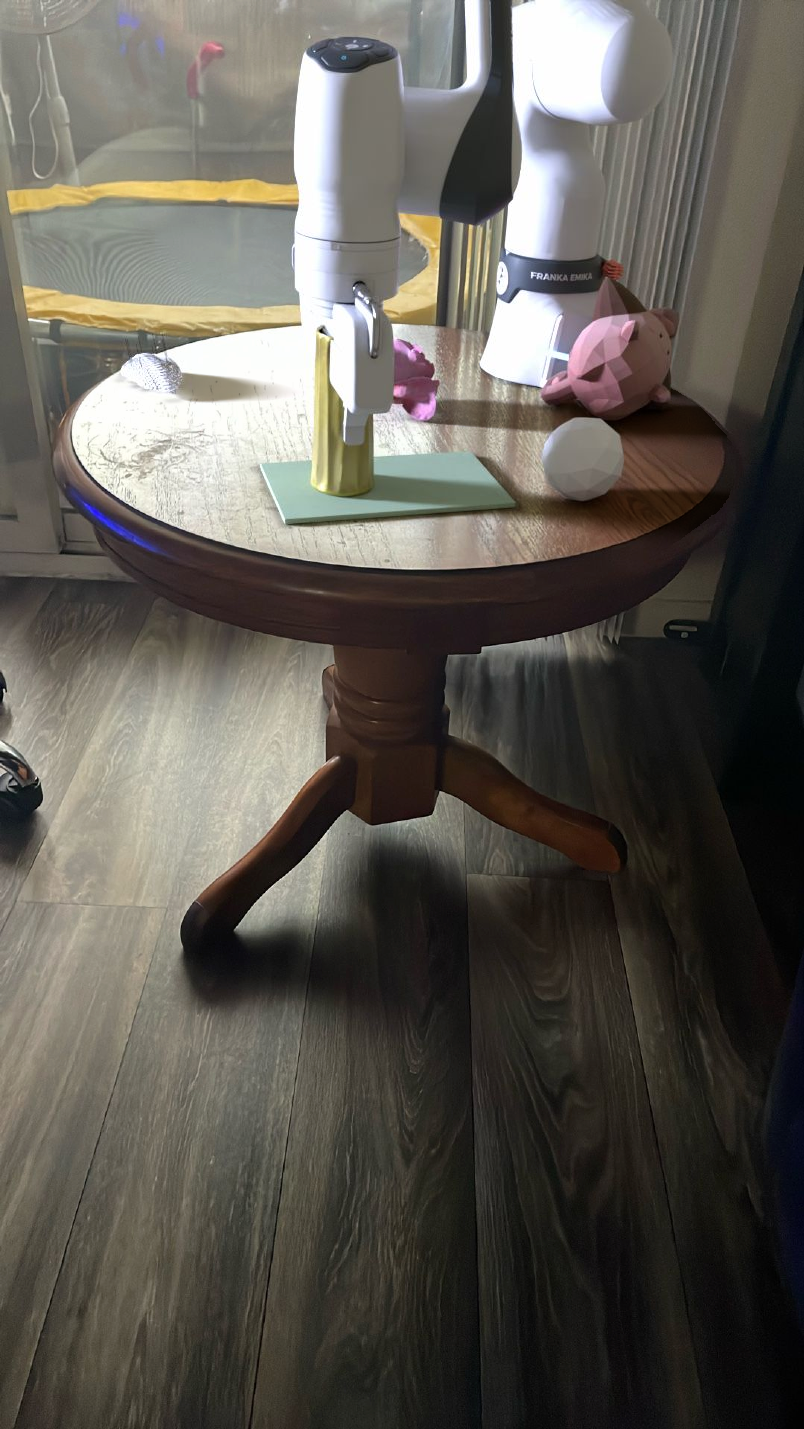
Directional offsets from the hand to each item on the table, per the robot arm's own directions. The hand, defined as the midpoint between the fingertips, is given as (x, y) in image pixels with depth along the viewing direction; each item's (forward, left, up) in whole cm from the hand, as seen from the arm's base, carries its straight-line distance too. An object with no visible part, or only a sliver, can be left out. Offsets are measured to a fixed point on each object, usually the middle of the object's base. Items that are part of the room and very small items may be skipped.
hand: (343, 428), depth 95 cm
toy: (-30, -14, -3) cm, 33 cm away
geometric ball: (-22, +5, -6) cm, 24 cm away
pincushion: (+15, -33, -6) cm, 37 cm away
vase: (0, 0, -6) cm, 6 cm away
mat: (-4, 0, -6) cm, 7 cm away
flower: (-11, -21, -6) cm, 24 cm away
